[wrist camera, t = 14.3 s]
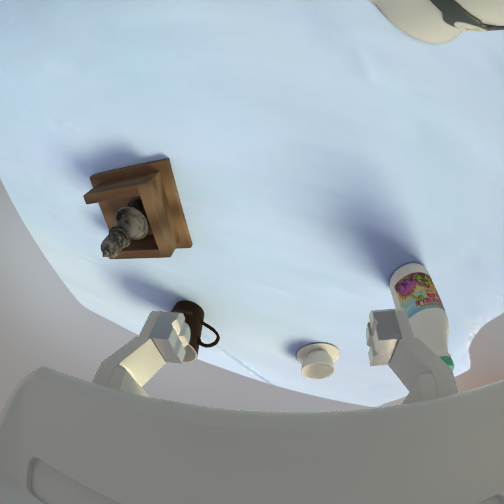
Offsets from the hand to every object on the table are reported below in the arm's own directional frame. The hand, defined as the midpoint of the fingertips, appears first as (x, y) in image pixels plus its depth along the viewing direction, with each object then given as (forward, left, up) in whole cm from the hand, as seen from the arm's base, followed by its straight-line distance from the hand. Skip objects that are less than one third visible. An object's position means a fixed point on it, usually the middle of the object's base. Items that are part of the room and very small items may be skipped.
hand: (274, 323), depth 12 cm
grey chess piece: (+8, -24, -28) cm, 38 cm away
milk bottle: (+24, +20, -29) cm, 43 cm away
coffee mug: (+32, -21, -29) cm, 48 cm away
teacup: (+46, +4, -30) cm, 55 cm away
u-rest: (+7, -24, -29) cm, 39 cm away
